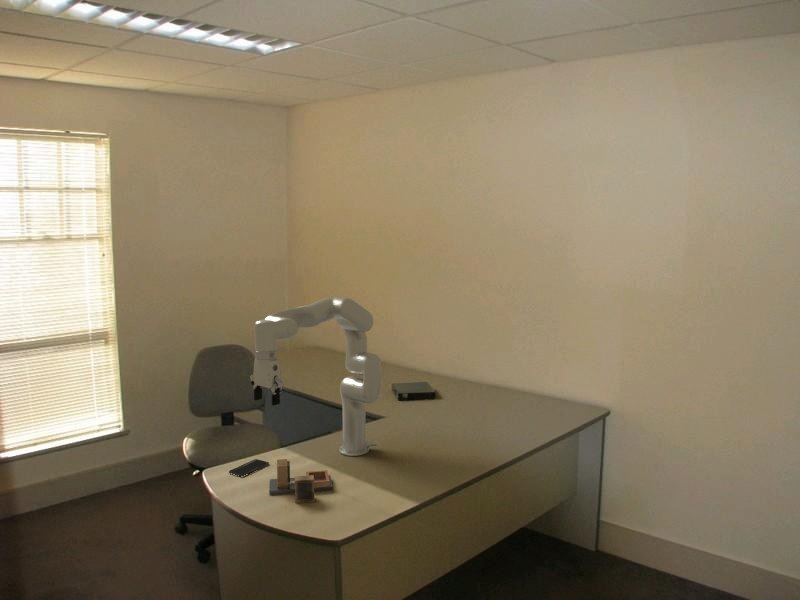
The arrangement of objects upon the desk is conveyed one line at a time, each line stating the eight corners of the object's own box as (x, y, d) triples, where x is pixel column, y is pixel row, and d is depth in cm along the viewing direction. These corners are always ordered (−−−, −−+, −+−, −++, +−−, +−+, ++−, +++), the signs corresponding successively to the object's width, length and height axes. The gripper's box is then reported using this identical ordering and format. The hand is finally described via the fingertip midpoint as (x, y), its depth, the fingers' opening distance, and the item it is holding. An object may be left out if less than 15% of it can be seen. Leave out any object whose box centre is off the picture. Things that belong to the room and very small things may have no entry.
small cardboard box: (313, 497, 216) (313, 475, 215) (314, 502, 212) (314, 480, 211) (295, 498, 215) (294, 476, 214) (295, 504, 210) (295, 481, 209)
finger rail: (330, 478, 231) (330, 454, 230) (332, 490, 221) (332, 464, 220) (269, 483, 227) (269, 458, 226) (269, 495, 217) (268, 469, 216)
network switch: (387, 391, 352) (387, 383, 351) (426, 388, 359) (426, 380, 358) (399, 403, 330) (399, 394, 329) (440, 399, 337) (440, 390, 336)
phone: (227, 471, 236) (255, 458, 248) (227, 474, 236) (255, 461, 249) (242, 475, 232) (270, 462, 244) (242, 478, 232) (270, 465, 244)
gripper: (290, 356, 216) (291, 404, 218) (258, 350, 227) (259, 395, 229) (273, 360, 211) (274, 409, 213) (242, 353, 221) (243, 400, 223)
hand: (266, 402), depth 221 cm, fingers open, 9 cm apart
